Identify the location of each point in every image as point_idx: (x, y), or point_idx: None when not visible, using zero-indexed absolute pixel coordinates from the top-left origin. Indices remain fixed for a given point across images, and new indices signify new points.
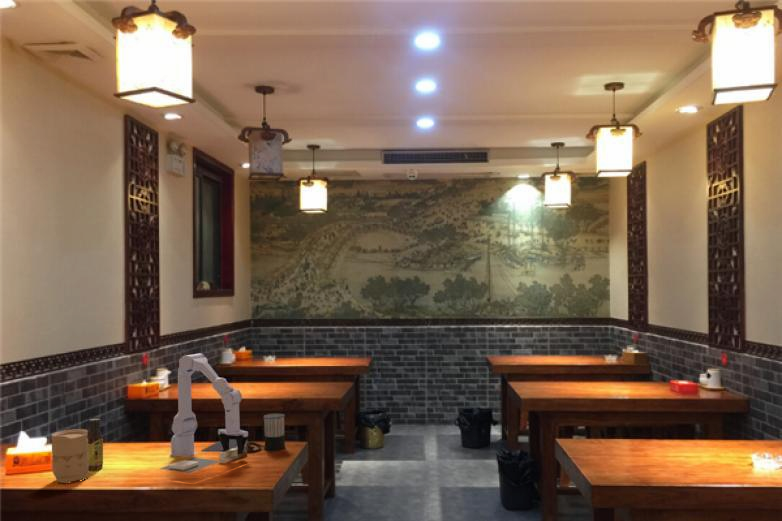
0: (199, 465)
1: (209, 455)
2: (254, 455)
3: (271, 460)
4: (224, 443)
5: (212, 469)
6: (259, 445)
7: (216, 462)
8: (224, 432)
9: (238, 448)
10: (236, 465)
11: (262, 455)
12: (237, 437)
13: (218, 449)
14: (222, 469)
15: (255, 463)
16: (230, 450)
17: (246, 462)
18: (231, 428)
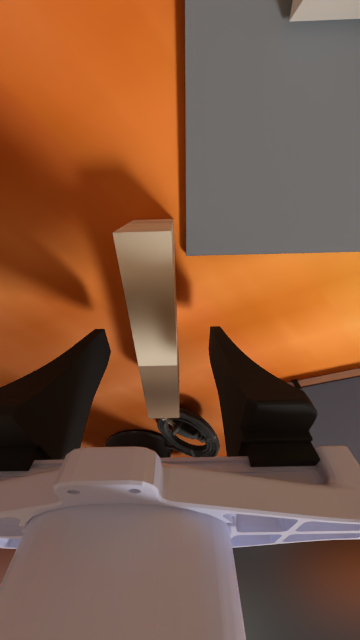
0: (280, 37)
1: (342, 337)
2: (138, 391)
3: (3, 365)
4: (225, 369)
5: (91, 18)
6: (180, 448)
7: (194, 211)
8: (218, 485)
9: (77, 348)
10: (46, 235)
11: (109, 398)
12: (7, 429)
13: (329, 393)
14: (14, 74)
15: (4, 308)
16: (146, 326)
17: (62, 307)
18: (4, 633)
